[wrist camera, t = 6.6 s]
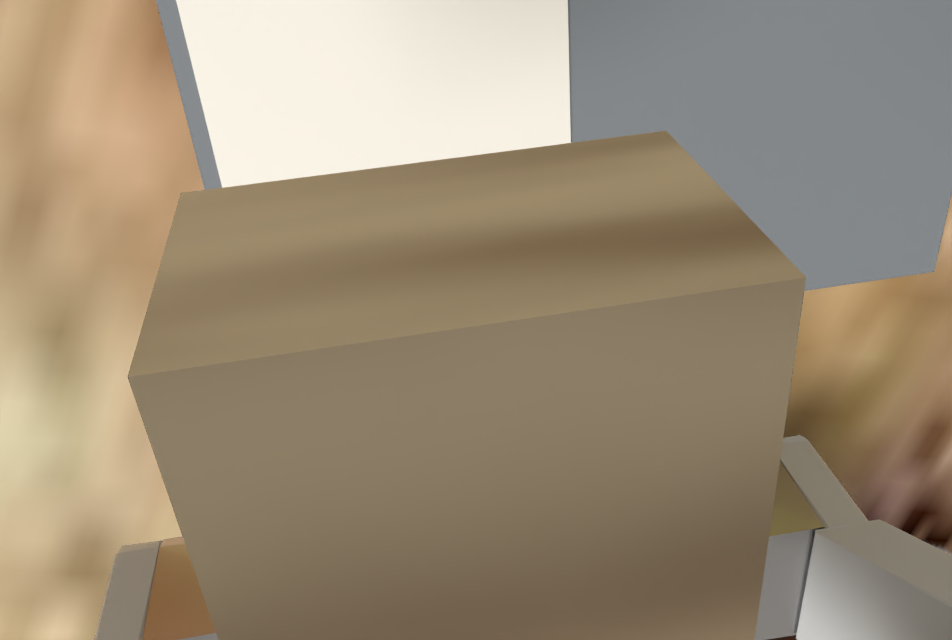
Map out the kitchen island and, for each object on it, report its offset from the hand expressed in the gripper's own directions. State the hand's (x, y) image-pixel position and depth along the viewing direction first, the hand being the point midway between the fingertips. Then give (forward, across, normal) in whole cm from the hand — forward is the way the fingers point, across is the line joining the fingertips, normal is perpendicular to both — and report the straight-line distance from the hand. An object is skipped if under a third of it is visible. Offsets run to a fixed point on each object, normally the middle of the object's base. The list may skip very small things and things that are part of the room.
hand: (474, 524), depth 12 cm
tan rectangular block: (+1, 0, 0) cm, 1 cm away
